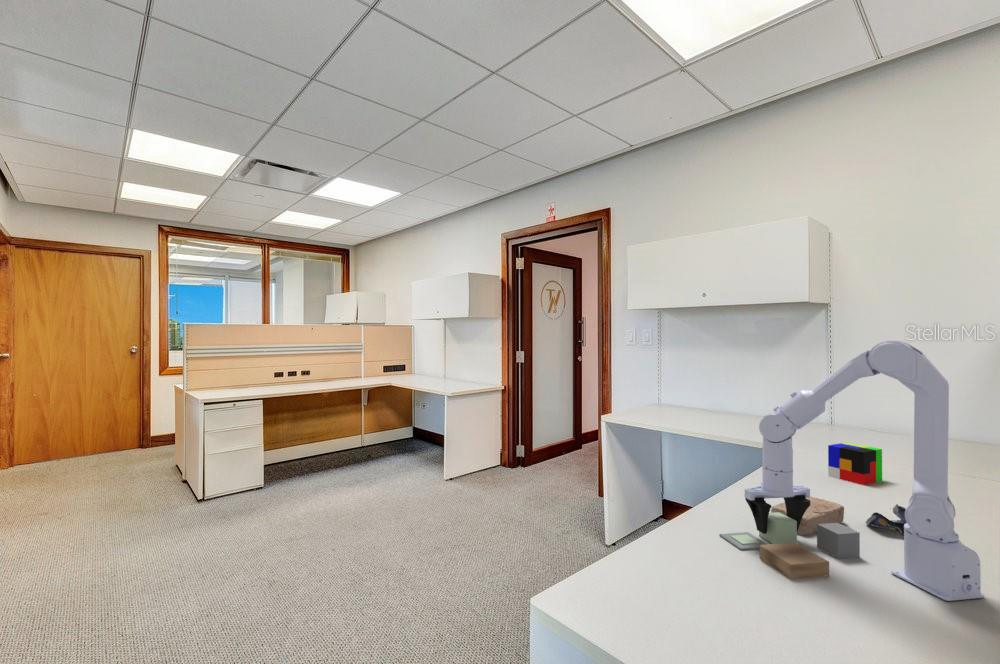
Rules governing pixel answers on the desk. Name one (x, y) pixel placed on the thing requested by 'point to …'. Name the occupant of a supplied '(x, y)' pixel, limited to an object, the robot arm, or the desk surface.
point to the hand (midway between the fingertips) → (777, 530)
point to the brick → (815, 514)
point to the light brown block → (794, 560)
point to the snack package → (888, 524)
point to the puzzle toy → (855, 463)
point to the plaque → (743, 540)
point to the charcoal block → (838, 540)
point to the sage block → (780, 529)
